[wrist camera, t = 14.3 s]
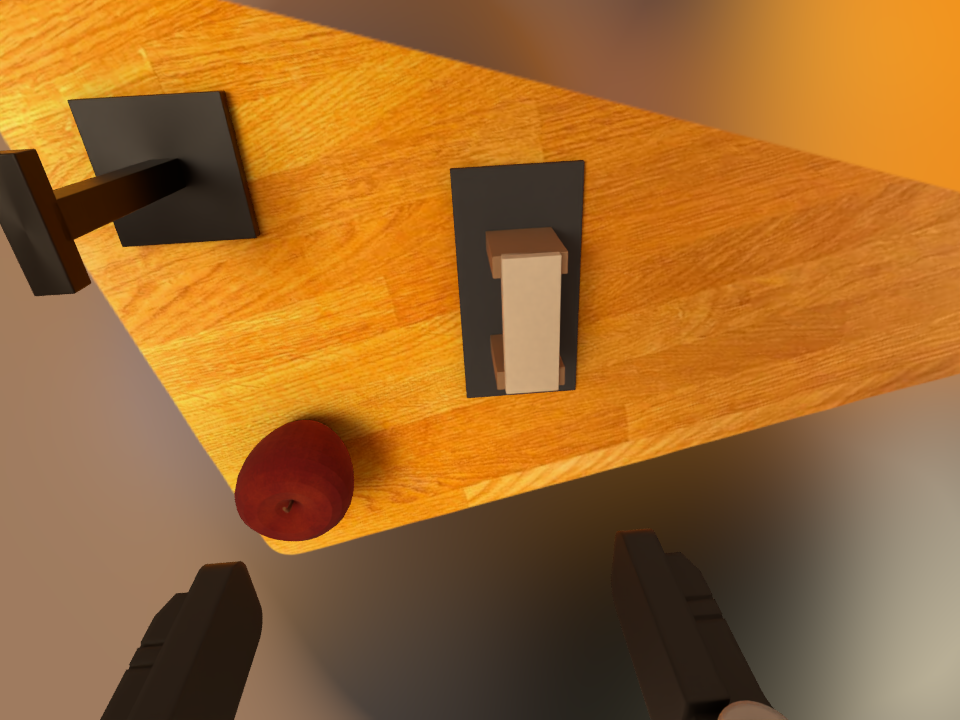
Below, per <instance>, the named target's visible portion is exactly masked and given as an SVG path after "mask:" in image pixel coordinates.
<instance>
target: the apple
mask: <svg viewBox="0 0 960 720" xmlns="http://www.w3.org/2000/svg"><path fill="white" fill-rule="evenodd" d="M353 491H354V471H353V466H352V462H351V458H350V455H349V453H348V450H347V448H346V446H345V444H344V443H343V441H342V440H341V439H340V437H339V436H338V435H337V434H336V433H335V432H334V431H333V430H332V429H330V428H329V427H327V426H326V425H324V424H322V423H320V422H317V421H313V420H298V421H294V422H290V423H287V424H285V425H283V426H281V427H279V428H277V429H275V430H274V431H273V432H271V433H270V434H269V435H267V436H266V437H265V438H263V439H262V440H261V441H260V442H259V443H258V444H257V445H256V447H255V448H254V449H253V450H252V451H251V453H250V454H249V455H248V457H247V458H246V460H245V462H244V464H243V466H242V468H241V470H240V473H239V475H238V478H237V484H236V489H235V502H236V506H237V511H238V513H239V515H240V517H241V519H242V520H243V521H244V523H245V524H246V525H248V526H249V527H250V528H251V529H253V530H254V531H256V532H258V533H259V534H262V535H264V536H267V537H269V538H273V539H277V540H283V541H304V540H309V539H313V538H316V537H318V536H321V535H323V534H325V533H326V532H328V531H329V530H330V529H332V528H333V527H334V526H336V525H337V524H338V523H339V522H340V521H341V520H342V518H343V517H344V515H345V513H346V512H347V510H348V508H349V506H350V504H351V500H352V496H353Z"/></svg>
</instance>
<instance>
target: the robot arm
mask: <svg viewBox="0 0 960 720" xmlns="http://www.w3.org/2000/svg"><path fill="white" fill-rule="evenodd" d="M611 588H612V595H613V601H614V605H615V609H616V612H617V615H618V618H619V621H620V624H621V628H622V630H623V634H624V637H625V640H626V643H627V646H628V649H629V653H630V655H631V659H632V661H633V665H634V668H635V671H636V675H637V678H638V681H639V684H640V687H641V690H642V693H643V696H644V699H645V702H646V706H647V709H648V712H649V715H650V718H651V720H788V719H787V718H786V717H784V716H783V715H782V714H781V713H779V712H778V711H776V710H775V709H774V708H773V707H772V706H771V704H770V703H769V702H768V700H767V699H766V698H765V696H764V694H763V692H762V691H761V689H760V687H759V685H758V683H757V681H756V679H755V677H754V675H753V673H752V671H751V669H750V667H749V665H748V663H747V661H746V659H745V657H744V656H743V654H742V652H741V650H740V648H739V646H738V644H737V642H736V640H735V638H734V636H733V634H732V632H731V630H730V628H729V626H728V624H727V622H726V620H725V619H723V617H722V613H721V611H720V609H719V607H718V605H717V603H716V601H715V599H713V597H712V593H711V591H710V589H709V587H708V585H707V583H706V581H705V580H704V578H703V576H702V573H701V572H700V570H699V569H698V568H697V567H695V566H694V565H693V564H692V563H691V562H690V561H689V560H688V559H687V558H686V557H685V556H684V555H683V554H682V553H681V552H676V553H664V551H663V549H662V547H661V544H660V542H659V540H658V538H657V536H656V534H655V532H654V531H653V530H652V529H638V530H627V531H617V532H616V535H615V543H614V554H613V563H612V574H611ZM261 630H262V609H261V605H260V603H259V600H258V597H257V594H256V592H255V589H254V586H253V584H252V581H251V578H250V575H249V573H248V570H247V568H246V565H245V564H244V563H243V562H241V561H239V562H227V563H216V564H205V565H204V566H202V567H201V569H200V570H199V572H198V573H197V575H196V577H195V580H194V582H193V584H192V586H191V588H190V590H189V592H188V593H177V594H175V595H174V596H173V597H172V598H171V600H170V601H169V602H168V603H167V604H166V605H165V606H164V607H163V608H162V609H161V610H160V611H159V612H158V613H157V614H156V615H155V617H154V618H153V620H152V622H151V624H150V626H149V628H148V630H147V631H146V633H145V635H144V637H143V639H142V641H141V646H140V648H138V649H137V651H136V652H135V654H134V656H133V658H132V660H131V662H130V664H129V665H130V667H129V669H128V670H126V672H125V673H124V675H123V677H122V679H121V681H120V683H119V685H118V687H117V689H116V691H115V693H114V695H113V696H112V698H111V700H110V702H109V704H108V706H107V708H106V710H105V712H104V714H103V716H102V717H101V719H100V720H234V718H235V715H236V712H237V708H238V705H239V702H240V699H241V696H242V693H243V689H244V686H245V683H246V680H247V677H248V674H249V671H250V667H251V665H252V662H253V658H254V655H255V652H256V649H257V646H258V642H259V639H260V635H261Z"/></svg>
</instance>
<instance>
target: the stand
mask: <svg viewBox="0 0 960 720" xmlns="http://www.w3.org/2000/svg"><path fill="white" fill-rule="evenodd" d="M68 103H69V106H70V108H71V111H72V114H73V116H74V119H75V122H76V124H77V127H78V130H79V132H80V135H81V138H82V140H83V143H84V146H85V148H86V151H87V154H88V156H89V159H90V162H91V164H92V167H93V170H94V172H95V175H96V177H93V178H90V179H87V180H84V181H81V182H78V183H74V184H71V185H68V186H65V187H62V188H59V189H56V190H52V187H51V185H50V182H49V180H48V178H47V175H46V173H45V170H44V168H43V166H42V163H41V161H40V159H39V156H38V154H37V151H36V150H35V149H23V150H7V151H0V224H1V226H2V229H3V231H4V233H5V235H6V237H7V239H8V241H9V243H10V245H11V247H12V250H13V251H14V254H15V256H16V258H17V260H18V262H19V264H20V266H21V268H22V270H23V272H24V275H25V277H26V279H27V281H28V283H29V285H30V287H31V289H32V291H33V293H34V295H35V296H45V295H60V294H74V293H76V292H78V291H80V290H81V289H83V288H85V287H86V286H88V285H89V284H91V280H90V278H89V276H88V273H87V271H86V269H85V266H84V264H83V261H82V259H81V257H80V254H79V252H78V249H77V247H76V245H75V242H74V239H76V238H78V237H81V236H83V235H85V234H87V233H89V232H91V231H93V230H96V229H98V228H100V227H102V226H104V225H106V224H108V223H111V222H113V223H114V225H115V228H116V231H117V233H118V236H119V239H120V241H121V244H122V246H123V247H129V246H145V245H160V244H175V243H190V242H205V241H220V240H235V239H250V238H257V237H258V236H259V235H260V232H259V228H258V224H257V220H256V216H255V212H254V208H253V204H252V200H251V196H250V192H249V188H248V184H247V180H246V176H245V172H244V168H243V164H242V160H241V156H240V152H239V148H238V144H237V140H236V136H235V132H234V128H233V124H232V120H231V116H230V111H229V107H228V103H227V99H226V95H225V91H208V92H191V93H173V94H156V95H139V96H122V97H105V98H88V99H72V100H68Z"/></svg>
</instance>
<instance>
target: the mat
mask: <svg viewBox="0 0 960 720" xmlns="http://www.w3.org/2000/svg"><path fill="white" fill-rule="evenodd" d="M450 175H451V189H452V202H453V216H454V229H455V243H456V256H457V270H458V284H459V297H460V311H461V324H462V338H463V351H464V365H465V378H466V392H467V398H475V397H488V396H501V395H515V394H506V391H505V389H503V390H498V389H497V384H496V378H495V372H494V366H493V361H492V355H491V343H490V335H498V334H503V322H502V293H501V278H496V279H493V277H492V272H491V268H490V264H489V260H488V256H487V251H486V235H485V232H486V231H497V230H512V229H527V228H542V227H552V229H553V230H554V232H555V233H556V235H557V236H558V238H559V239H560V241H561V242H562V244H563V245H564V247H565V248H566V249H567V251H568V273H567V274H561V302H560V346H559V354H560V357H561V359H562V361H563V364H564V366H565V384H564V385H559V390H556V391H567V390H575V385H576V360H577V335H578V310H579V285H580V260H581V235H582V210H583V185H584V161H583V160H577V161H561V162H545V163H529V164H513V165H498V166H482V167H466V168H451V169H450ZM543 392H554V391H543ZM529 393H541V392H529ZM516 394H528V393H516Z"/></svg>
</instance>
